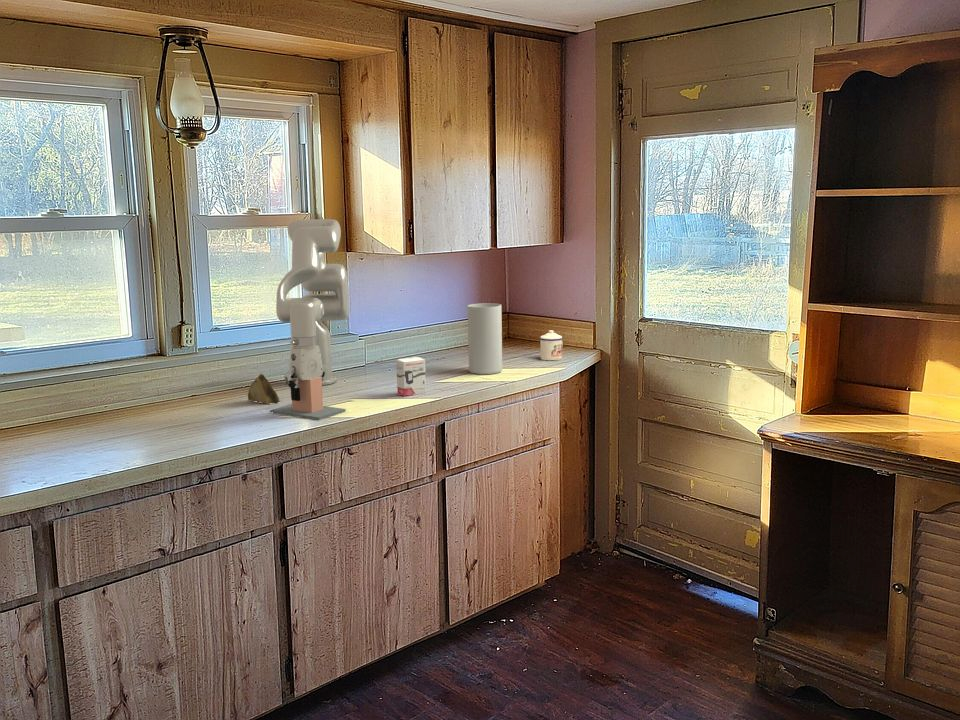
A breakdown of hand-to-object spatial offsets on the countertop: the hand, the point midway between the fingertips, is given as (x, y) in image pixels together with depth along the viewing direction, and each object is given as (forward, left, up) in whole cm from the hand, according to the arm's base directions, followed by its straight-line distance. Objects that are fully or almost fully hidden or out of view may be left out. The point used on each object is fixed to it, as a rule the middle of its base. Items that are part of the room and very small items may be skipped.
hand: (307, 397), depth 264 cm
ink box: (+13, +36, -5) cm, 39 cm away
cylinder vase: (+15, +80, -5) cm, 82 cm away
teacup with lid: (+25, +116, -5) cm, 119 cm away
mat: (0, 0, -5) cm, 5 cm away
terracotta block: (0, 0, -4) cm, 4 cm away
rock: (-23, +4, -5) cm, 24 cm away
